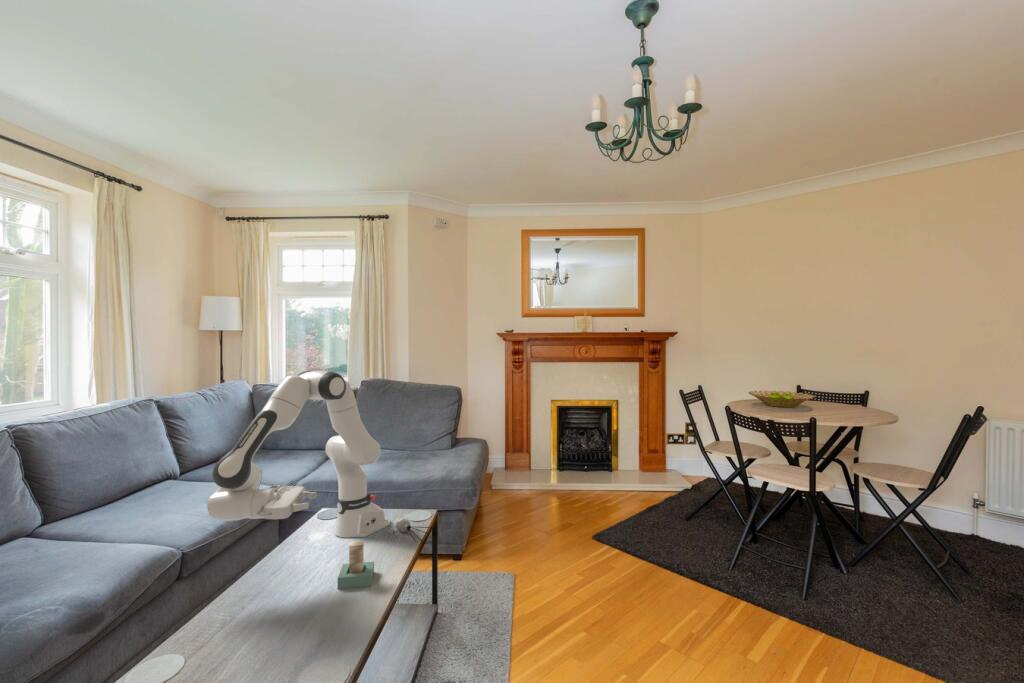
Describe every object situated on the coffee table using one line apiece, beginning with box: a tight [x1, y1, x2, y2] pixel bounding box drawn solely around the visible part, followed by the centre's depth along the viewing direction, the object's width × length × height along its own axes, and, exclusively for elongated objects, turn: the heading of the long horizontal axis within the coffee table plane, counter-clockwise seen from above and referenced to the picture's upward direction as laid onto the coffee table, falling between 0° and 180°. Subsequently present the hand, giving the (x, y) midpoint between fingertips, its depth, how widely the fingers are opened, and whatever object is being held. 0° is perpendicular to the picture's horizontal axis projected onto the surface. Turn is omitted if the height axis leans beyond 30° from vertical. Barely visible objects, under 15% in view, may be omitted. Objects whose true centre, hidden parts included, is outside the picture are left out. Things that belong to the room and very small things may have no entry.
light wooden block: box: [348, 540, 365, 574], centre depth 146 cm, size 4×3×12 cm
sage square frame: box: [337, 561, 375, 590], centre depth 145 cm, size 10×9×4 cm
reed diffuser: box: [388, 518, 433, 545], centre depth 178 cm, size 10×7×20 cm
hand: (312, 500), depth 144 cm, fingers open, 8 cm apart
